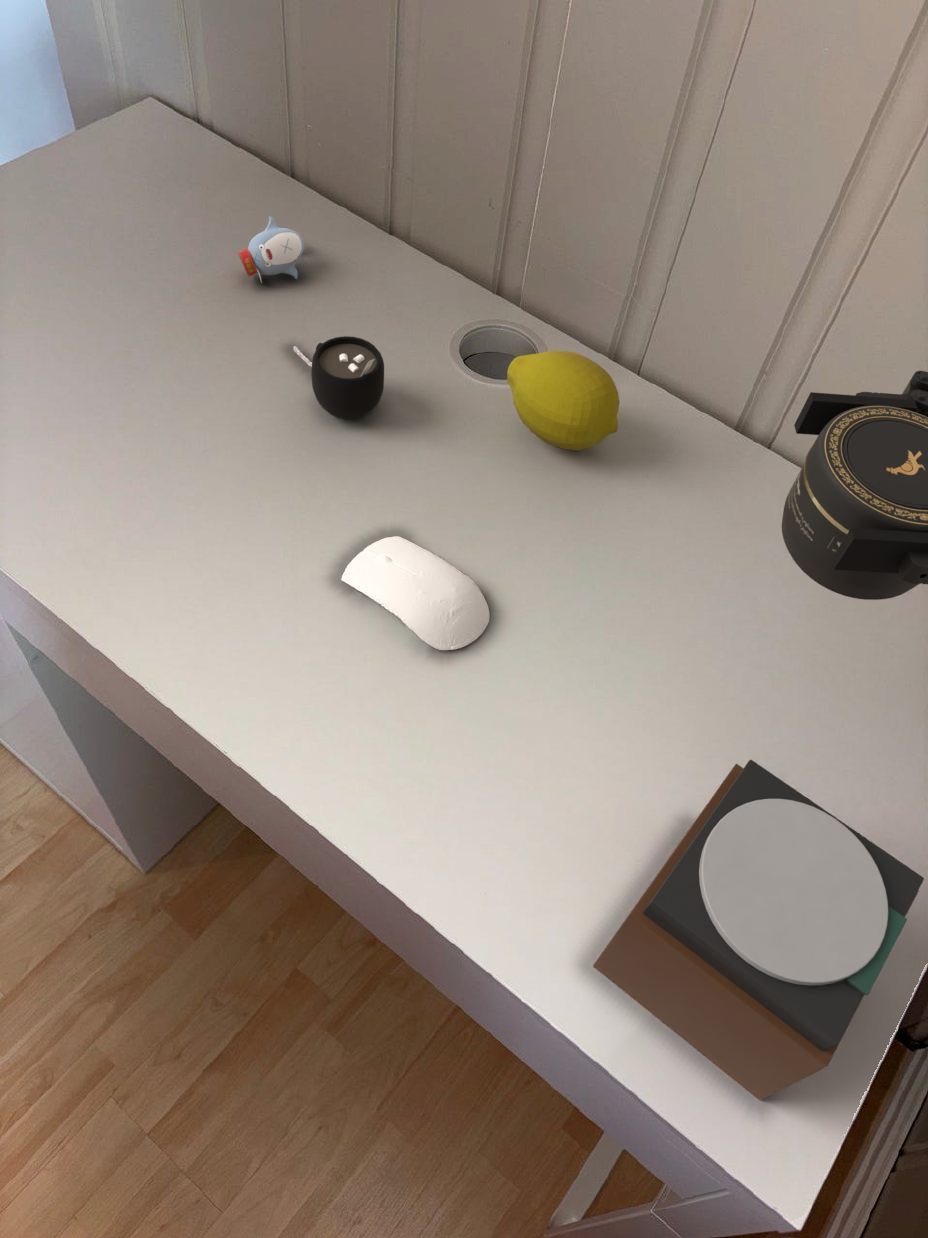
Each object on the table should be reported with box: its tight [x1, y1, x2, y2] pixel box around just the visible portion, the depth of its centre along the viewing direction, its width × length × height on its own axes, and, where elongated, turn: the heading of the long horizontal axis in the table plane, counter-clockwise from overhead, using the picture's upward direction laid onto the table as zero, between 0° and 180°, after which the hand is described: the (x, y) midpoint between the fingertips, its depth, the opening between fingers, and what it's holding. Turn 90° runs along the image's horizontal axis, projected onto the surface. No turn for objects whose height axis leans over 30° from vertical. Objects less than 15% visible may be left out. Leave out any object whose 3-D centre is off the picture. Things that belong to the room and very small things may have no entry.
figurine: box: [237, 215, 305, 284], centre depth 96 cm, size 5×8×4 cm
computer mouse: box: [341, 535, 490, 651], centre depth 75 cm, size 7×12×2 cm, turn 49°
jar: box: [781, 405, 928, 601], centre depth 59 cm, size 10×10×8 cm
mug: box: [292, 335, 385, 420], centre depth 85 cm, size 12×6×7 cm, turn 40°
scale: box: [592, 759, 925, 1101], centre depth 57 cm, size 12×12×13 cm
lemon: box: [506, 350, 620, 451], centre depth 84 cm, size 11×8×8 cm
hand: (821, 477), depth 57 cm, fingers closed on jar, 10 cm apart
